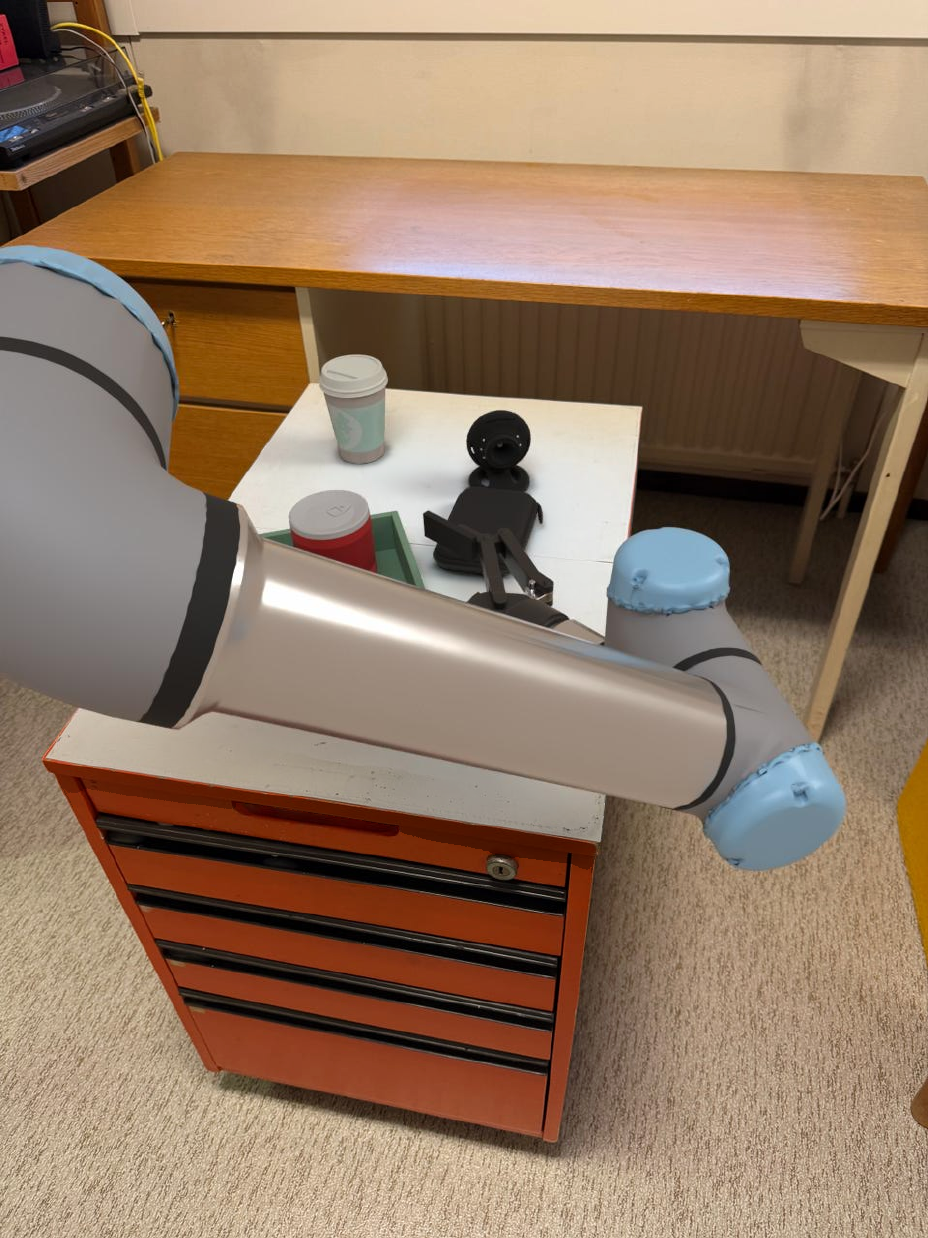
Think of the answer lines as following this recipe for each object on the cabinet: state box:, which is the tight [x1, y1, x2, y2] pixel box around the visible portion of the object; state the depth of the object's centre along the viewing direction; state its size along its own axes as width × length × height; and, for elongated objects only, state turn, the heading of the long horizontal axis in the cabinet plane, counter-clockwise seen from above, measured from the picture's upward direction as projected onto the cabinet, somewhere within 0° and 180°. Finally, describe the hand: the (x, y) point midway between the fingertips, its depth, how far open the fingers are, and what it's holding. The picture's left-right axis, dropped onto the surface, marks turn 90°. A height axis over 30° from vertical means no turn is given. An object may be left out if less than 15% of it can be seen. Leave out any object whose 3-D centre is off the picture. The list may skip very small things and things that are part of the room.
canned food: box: [288, 489, 378, 574], centre depth 89 cm, size 8×8×11 cm
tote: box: [258, 510, 426, 589], centre depth 91 cm, size 16×16×5 cm
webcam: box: [465, 409, 532, 492], centre depth 106 cm, size 8×8×10 cm
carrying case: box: [432, 486, 544, 577], centre depth 99 cm, size 11×3×15 cm
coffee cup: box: [318, 354, 389, 465], centre depth 112 cm, size 8×8×12 cm
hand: (374, 554), depth 83 cm, fingers open, 13 cm apart
